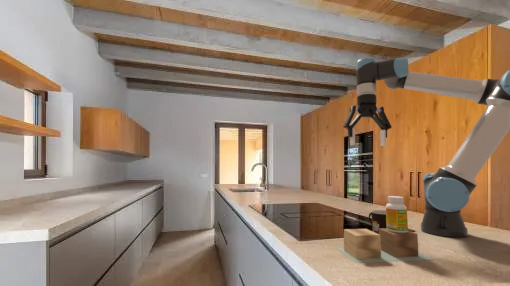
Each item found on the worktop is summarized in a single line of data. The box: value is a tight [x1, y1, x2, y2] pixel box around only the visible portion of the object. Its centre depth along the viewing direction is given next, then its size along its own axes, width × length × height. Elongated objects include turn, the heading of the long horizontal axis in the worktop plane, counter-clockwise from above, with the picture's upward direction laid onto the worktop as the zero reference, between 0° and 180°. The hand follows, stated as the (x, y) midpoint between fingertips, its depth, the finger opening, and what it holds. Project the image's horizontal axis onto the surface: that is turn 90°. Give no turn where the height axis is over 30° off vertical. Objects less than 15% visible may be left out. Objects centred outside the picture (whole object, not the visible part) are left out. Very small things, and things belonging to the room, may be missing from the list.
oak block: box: [343, 228, 381, 259], centre depth 72 cm, size 7×7×6 cm
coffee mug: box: [368, 209, 387, 234], centre depth 92 cm, size 12×9×10 cm
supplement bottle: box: [385, 195, 409, 233], centre depth 75 cm, size 5×5×10 cm
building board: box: [335, 247, 435, 264], centre depth 73 cm, size 22×12×2 cm, turn 97°
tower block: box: [379, 228, 419, 257], centre depth 74 cm, size 7×7×6 cm
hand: (368, 145), depth 108 cm, fingers open, 13 cm apart
